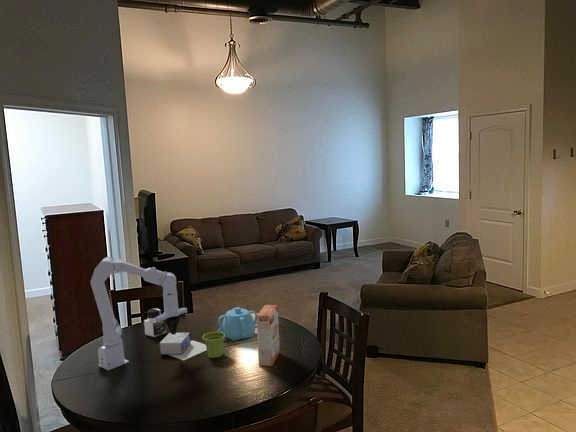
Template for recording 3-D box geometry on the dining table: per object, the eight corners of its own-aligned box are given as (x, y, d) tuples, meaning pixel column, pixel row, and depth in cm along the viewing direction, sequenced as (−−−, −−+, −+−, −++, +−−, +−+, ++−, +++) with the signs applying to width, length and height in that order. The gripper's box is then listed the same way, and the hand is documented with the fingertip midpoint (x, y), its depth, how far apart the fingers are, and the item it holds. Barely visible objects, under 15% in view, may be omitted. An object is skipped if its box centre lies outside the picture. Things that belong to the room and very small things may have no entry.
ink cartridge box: (182, 355, 202) (192, 341, 216) (181, 343, 201) (191, 329, 215) (160, 355, 203) (171, 341, 217) (159, 343, 202) (170, 329, 216)
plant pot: (199, 358, 198) (197, 338, 197) (213, 349, 206) (211, 330, 205) (217, 361, 194) (216, 341, 193) (230, 352, 202) (229, 333, 201)
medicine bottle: (154, 337, 224) (152, 312, 223) (144, 334, 228) (142, 310, 227) (166, 332, 230) (164, 308, 228) (157, 330, 234) (155, 306, 233)
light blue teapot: (214, 339, 218) (212, 311, 216) (235, 328, 232) (233, 300, 230) (242, 345, 210) (240, 315, 208) (263, 333, 223) (261, 305, 221)
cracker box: (273, 367, 186) (270, 315, 184) (258, 366, 188) (255, 315, 185) (280, 352, 200) (278, 304, 197) (266, 352, 201) (264, 304, 199)
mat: (183, 360, 196) (183, 360, 196) (163, 353, 205) (163, 352, 205) (213, 347, 208) (213, 347, 208) (192, 341, 217) (192, 340, 217)
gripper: (161, 308, 190) (164, 341, 192) (190, 299, 201) (192, 330, 203) (151, 305, 195) (154, 337, 197) (180, 296, 206) (182, 327, 208)
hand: (173, 333), depth 200 cm, fingers closed
